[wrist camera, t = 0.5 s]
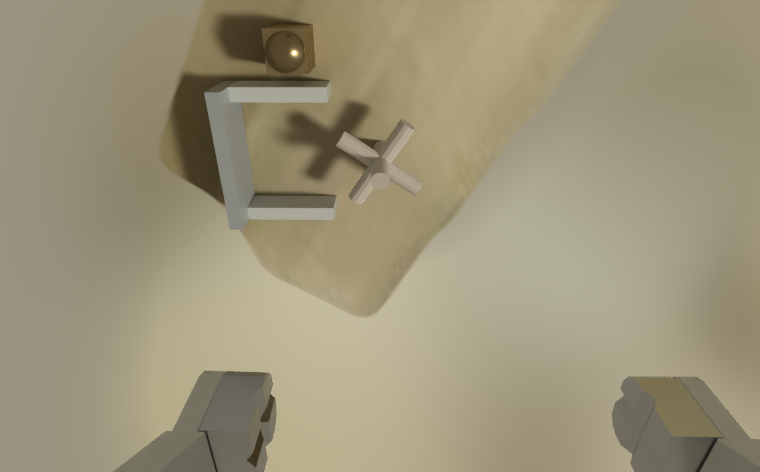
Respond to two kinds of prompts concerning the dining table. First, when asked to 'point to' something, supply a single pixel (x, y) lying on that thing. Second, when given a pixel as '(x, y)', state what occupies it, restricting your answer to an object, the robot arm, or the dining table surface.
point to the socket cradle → (235, 153)
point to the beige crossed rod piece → (380, 162)
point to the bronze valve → (289, 48)
